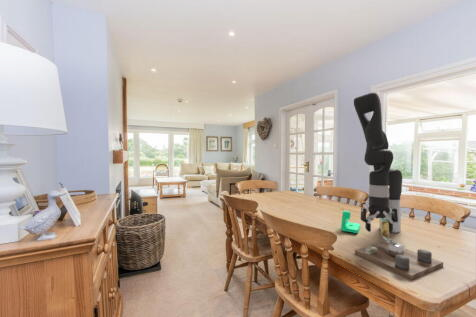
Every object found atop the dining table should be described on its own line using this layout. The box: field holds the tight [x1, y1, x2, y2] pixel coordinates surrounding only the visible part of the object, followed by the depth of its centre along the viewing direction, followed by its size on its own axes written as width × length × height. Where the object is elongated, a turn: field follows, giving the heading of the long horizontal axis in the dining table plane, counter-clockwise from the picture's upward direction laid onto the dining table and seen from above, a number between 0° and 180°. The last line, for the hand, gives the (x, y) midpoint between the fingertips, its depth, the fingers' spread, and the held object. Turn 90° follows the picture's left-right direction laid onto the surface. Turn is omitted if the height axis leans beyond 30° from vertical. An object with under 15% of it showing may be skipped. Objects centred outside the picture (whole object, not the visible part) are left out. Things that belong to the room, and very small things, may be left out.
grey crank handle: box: [380, 221, 405, 257], centre depth 90 cm, size 14×5×10 cm, turn 167°
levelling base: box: [354, 240, 444, 281], centre depth 85 cm, size 20×21×5 cm
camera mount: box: [340, 210, 361, 234], centre depth 118 cm, size 12×8×10 cm, turn 144°
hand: (378, 231), depth 95 cm, fingers open, 8 cm apart
